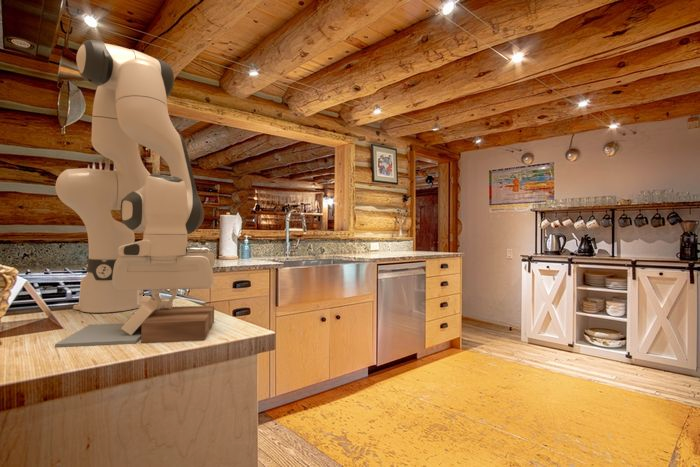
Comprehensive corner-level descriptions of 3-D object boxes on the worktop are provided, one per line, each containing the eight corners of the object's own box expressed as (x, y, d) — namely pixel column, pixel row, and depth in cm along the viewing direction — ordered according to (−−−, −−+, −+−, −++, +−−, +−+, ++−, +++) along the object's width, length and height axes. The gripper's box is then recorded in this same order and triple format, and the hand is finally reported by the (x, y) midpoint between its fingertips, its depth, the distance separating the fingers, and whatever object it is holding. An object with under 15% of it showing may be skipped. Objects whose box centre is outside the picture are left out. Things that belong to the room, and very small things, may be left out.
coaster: (142, 325, 87) (133, 319, 86) (160, 305, 87) (151, 298, 87) (131, 335, 79) (120, 328, 78) (151, 312, 80) (141, 305, 79)
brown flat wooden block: (161, 323, 91) (161, 307, 91) (213, 321, 94) (214, 305, 94) (141, 343, 76) (141, 323, 76) (204, 340, 79) (205, 320, 78)
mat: (89, 327, 87) (89, 324, 87) (155, 324, 90) (155, 322, 90) (55, 347, 72) (55, 344, 72) (135, 343, 76) (135, 340, 76)
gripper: (216, 247, 90) (215, 305, 90) (120, 246, 85) (119, 307, 85) (213, 248, 84) (212, 310, 84) (109, 247, 79) (108, 313, 79)
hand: (164, 309), depth 84 cm, fingers closed
